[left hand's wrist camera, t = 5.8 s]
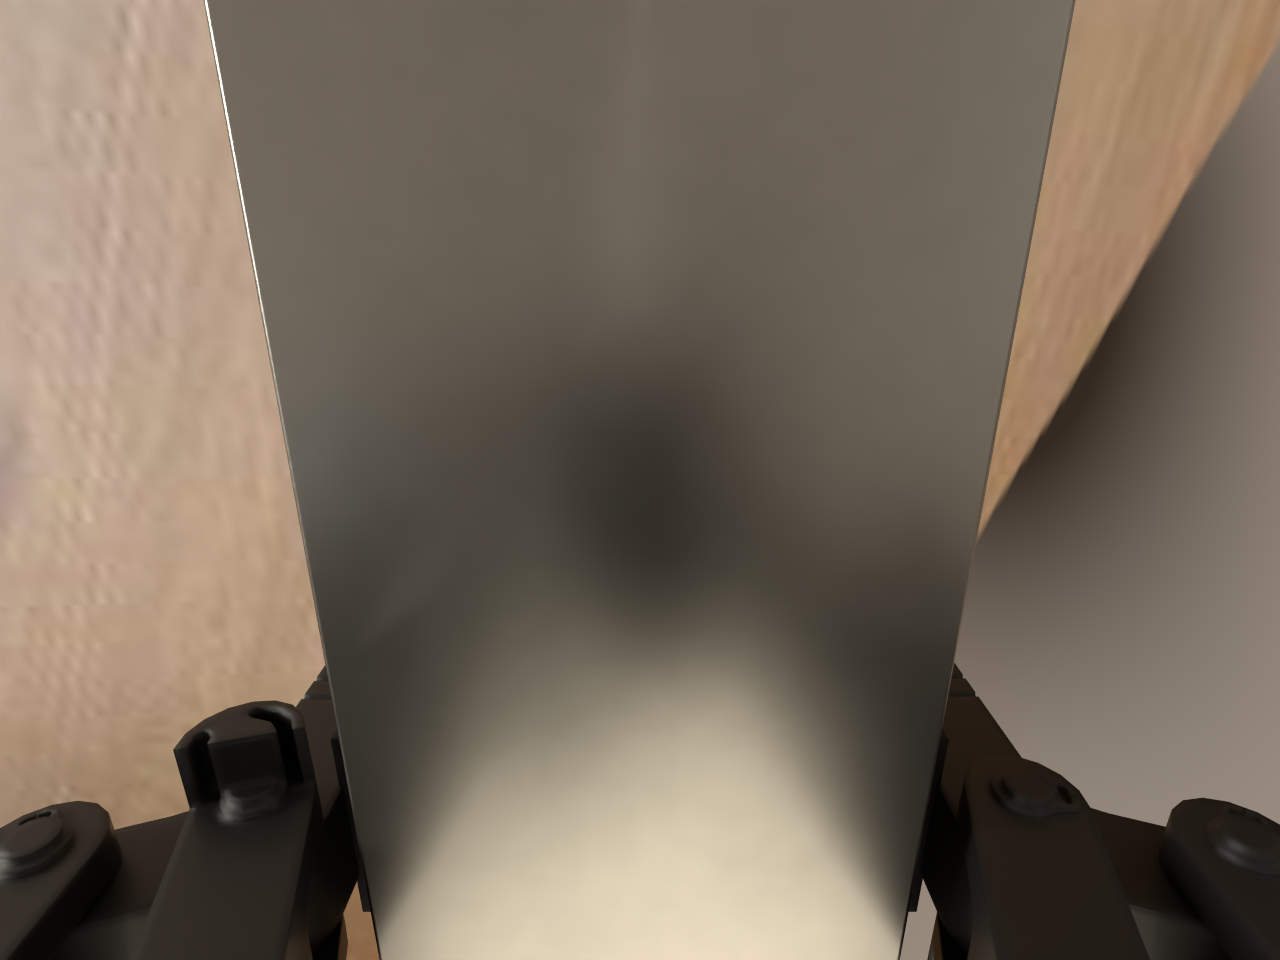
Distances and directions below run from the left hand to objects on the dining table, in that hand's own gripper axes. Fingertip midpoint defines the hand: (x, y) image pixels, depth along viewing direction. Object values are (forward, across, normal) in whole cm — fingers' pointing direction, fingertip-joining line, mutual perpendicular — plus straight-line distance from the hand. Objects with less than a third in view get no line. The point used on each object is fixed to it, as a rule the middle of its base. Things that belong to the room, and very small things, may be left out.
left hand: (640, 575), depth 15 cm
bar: (+1, 0, -9) cm, 9 cm away
